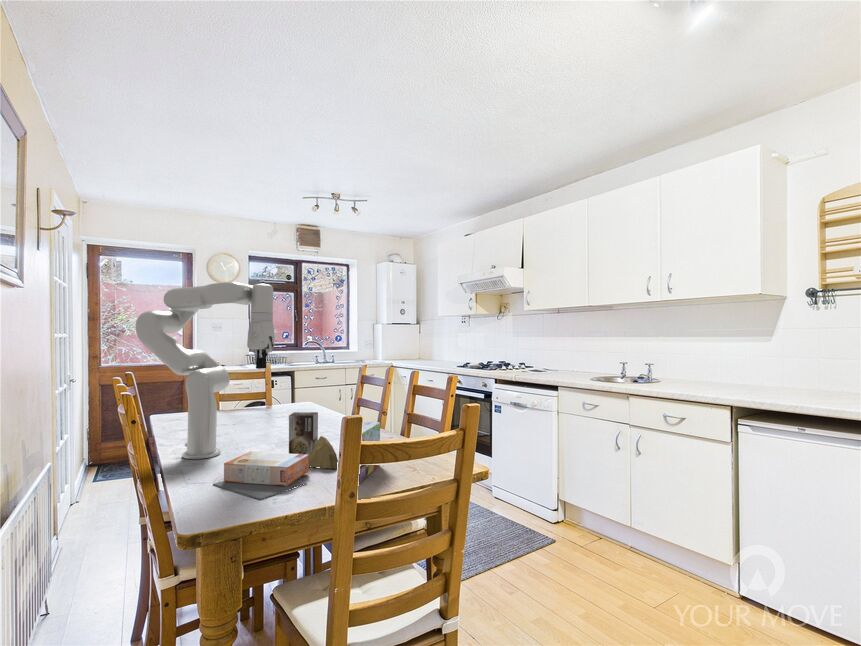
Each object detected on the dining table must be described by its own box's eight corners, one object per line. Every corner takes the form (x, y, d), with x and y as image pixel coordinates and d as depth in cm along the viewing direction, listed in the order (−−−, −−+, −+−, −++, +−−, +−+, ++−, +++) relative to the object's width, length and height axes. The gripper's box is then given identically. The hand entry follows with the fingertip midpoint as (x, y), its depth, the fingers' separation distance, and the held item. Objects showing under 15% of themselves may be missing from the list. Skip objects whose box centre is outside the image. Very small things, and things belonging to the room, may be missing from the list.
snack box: (359, 485, 135) (360, 434, 135) (342, 484, 136) (342, 433, 136) (380, 465, 156) (381, 421, 156) (364, 464, 157) (365, 420, 157)
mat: (212, 485, 134) (212, 483, 134) (259, 471, 147) (259, 470, 148) (260, 500, 122) (260, 498, 122) (306, 484, 135) (306, 482, 136)
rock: (347, 460, 153) (334, 450, 161) (335, 443, 149) (322, 433, 157) (322, 484, 148) (310, 472, 156) (308, 466, 145) (296, 455, 152)
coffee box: (318, 456, 167) (318, 411, 168) (313, 460, 161) (314, 414, 161) (293, 455, 167) (294, 411, 168) (287, 460, 161) (288, 414, 161)
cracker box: (222, 483, 136) (287, 487, 131) (222, 462, 136) (287, 465, 132) (250, 469, 149) (309, 472, 145) (250, 450, 149) (309, 453, 145)
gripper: (240, 318, 167) (239, 368, 167) (266, 317, 159) (265, 370, 159) (257, 318, 174) (257, 367, 173) (283, 318, 165) (283, 368, 165)
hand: (261, 368), depth 166 cm, fingers closed
